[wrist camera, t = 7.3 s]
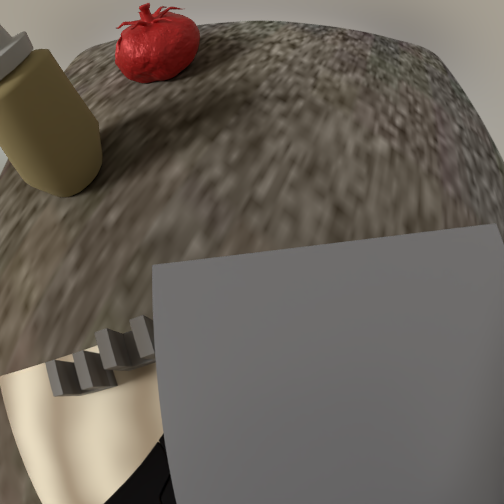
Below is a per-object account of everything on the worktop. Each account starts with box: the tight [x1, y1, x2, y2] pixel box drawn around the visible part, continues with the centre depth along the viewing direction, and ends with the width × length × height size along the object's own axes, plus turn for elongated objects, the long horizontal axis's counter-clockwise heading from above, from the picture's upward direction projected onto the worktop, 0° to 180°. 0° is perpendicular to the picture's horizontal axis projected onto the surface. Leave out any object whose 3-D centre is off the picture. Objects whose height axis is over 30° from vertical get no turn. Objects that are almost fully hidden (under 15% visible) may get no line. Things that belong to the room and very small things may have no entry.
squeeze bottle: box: [0, 25, 102, 197], centre depth 14 cm, size 8×8×18 cm
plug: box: [152, 223, 504, 504], centre depth 8 cm, size 5×5×12 cm
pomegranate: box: [115, 3, 200, 83], centre depth 24 cm, size 10×10×9 cm
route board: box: [0, 315, 164, 504], centre depth 13 cm, size 26×12×5 cm, turn 112°
